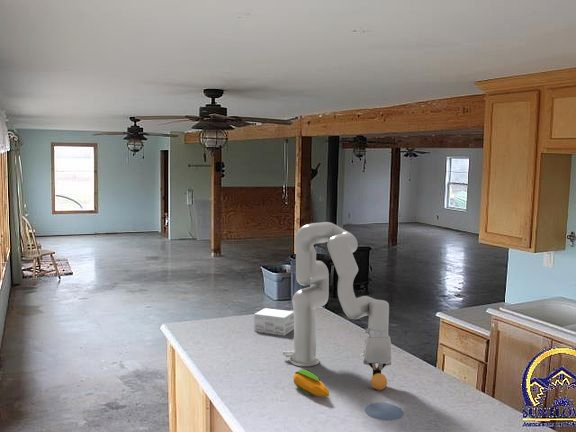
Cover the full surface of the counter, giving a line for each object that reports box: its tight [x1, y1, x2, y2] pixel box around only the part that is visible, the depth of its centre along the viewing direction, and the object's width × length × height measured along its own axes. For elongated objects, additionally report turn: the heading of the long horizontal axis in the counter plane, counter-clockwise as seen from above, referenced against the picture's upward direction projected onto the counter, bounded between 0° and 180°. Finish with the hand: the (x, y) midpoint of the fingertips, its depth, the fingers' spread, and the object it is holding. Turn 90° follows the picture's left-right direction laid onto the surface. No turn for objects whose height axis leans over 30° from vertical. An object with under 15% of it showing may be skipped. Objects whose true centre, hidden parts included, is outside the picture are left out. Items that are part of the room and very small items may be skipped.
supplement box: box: [253, 307, 294, 336], centre depth 277 cm, size 17×13×9 cm
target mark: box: [364, 402, 404, 421], centre depth 187 cm, size 13×13×1 cm
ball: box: [370, 372, 388, 391], centre depth 205 cm, size 6×6×6 cm
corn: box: [293, 369, 330, 398], centre depth 200 cm, size 7×8×20 cm
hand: (376, 378), depth 211 cm, fingers closed
